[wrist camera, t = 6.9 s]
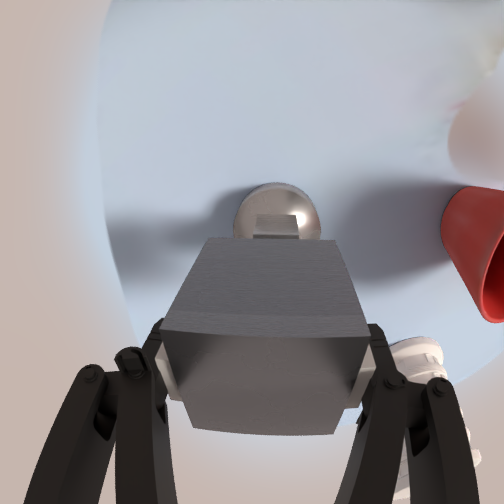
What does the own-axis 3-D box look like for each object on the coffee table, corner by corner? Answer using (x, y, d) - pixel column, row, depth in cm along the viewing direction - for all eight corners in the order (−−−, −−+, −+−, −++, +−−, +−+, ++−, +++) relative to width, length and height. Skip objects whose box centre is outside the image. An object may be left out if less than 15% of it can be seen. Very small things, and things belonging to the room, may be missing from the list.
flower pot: (510, 184, 19) (569, 218, 11) (481, 272, 24) (524, 323, 16) (444, 156, 20) (512, 184, 11) (414, 262, 25) (457, 324, 16)
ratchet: (235, 182, 23) (220, 204, 18) (319, 183, 23) (332, 206, 17) (243, 331, 31) (235, 375, 25) (306, 333, 30) (309, 378, 24)
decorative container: (360, 397, 35) (375, 506, 19) (368, 346, 30) (398, 485, 14) (429, 382, 33) (459, 479, 17) (449, 328, 28) (502, 443, 12)
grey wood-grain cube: (208, 237, 14) (158, 328, 8) (334, 240, 14) (370, 336, 8) (218, 332, 17) (193, 427, 11) (321, 335, 17) (333, 434, 10)
